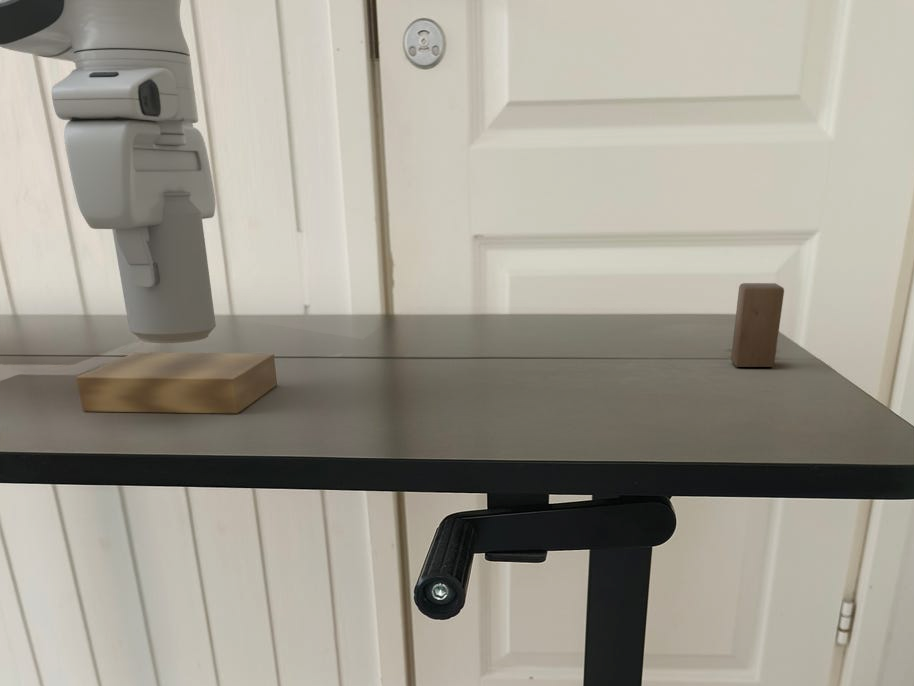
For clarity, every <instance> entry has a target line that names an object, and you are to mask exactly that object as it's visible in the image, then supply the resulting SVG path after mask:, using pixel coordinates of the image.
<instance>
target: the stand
mask: <svg viewBox="0 0 914 686" xmlns="http://www.w3.org/2000/svg"><path fill="white" fill-rule="evenodd" d="M76 384H77V388H78V389H77V390H78V393H79V398H80V404H81V408H82V411H83V412H84V413H85V412H93V413H94V412H95V413H154V414H155V413H156V414H157V413H159V414H161V413H163V414H164V413H165V414H223V415H225V414H228V415H230V414H231V415H234V414H235V415H237V414H239V413H241V412H242V411H243V410H245V409H246V408H247V407H249V406H250V405H252V404H253V403H254V402H256V401H257V400H259V399H260V398H261V397H263V396H264V395H265V394H267V393H268V392H269V391H271V390H273V389H274V388H275V387H276V386H278V380H277V370H276V360H275V354H274V353H234V352H233V353H229V352H228V353H227V352H225V353H224V352H223V353H220V352H219V353H218V352H215V353H214V352H212V353H211V352H210V353H209V352H133V353H130V354H128V355H126V356H123V357H121V358H119V359H116V360H114V361H111V362H109V363H107V364H105V365H102V366H99V367H98V368H95V369H93V370H90V371H88V372H85V373H83V374H80V375H78V376H76Z"/></svg>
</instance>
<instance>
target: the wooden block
mask: <svg viewBox="0 0 914 686" xmlns="http://www.w3.org/2000/svg"><path fill="white" fill-rule="evenodd" d="M784 295H785V288H784V287H783V286H781V285H779V283H778V284H777V283H776V282H766V283H765V282H743V283H740V285H739V286H738V293H737V301H736V309H735V319H734V328H733V336H732V337H733V338H732V339H733V340H732V346H731V355H730V360H731V362H732V363H733V365H734V366H735V367H736V368H738V367H772V368H773V367H774V366H775V364H776V363H775V362H776V355H777V346H778V342H779V341H778V339H779V334H780V333H779V332H780V326H781V318H782V312H783V311H782V309H783V305H784V304H783V303H784Z"/></svg>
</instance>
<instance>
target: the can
mask: <svg viewBox="0 0 914 686" xmlns="http://www.w3.org/2000/svg"><path fill="white" fill-rule="evenodd" d="M163 195H164V197H165V200H166V202H165V206H164V211H163V222H162V223H161V224H159V225H152V226H147V227H148V234H149V241H147V245H148V248H149V251H150V254H151V257H152V261H153V263H157V266H158V275H159V279H160V282H159V284H157V285H155V286H152V287H136V286H135V285H134V284H133V282H132V277H131V272H130V266H129V264H128V262H127V260H126V258H125V256H124V254H123V252H122V250H121V248H120V246H119V244H118V241H117V236H116V230H115V229H111V230H112V235H113V241H114V248H115V254H116V260H117V264H118V270H119V271H118V272H119V277H120V282H121V288H122V293H123V294H122V295H123V300H124V306H125V313H126V317H127V322H128V329H129V332H131V333H132V334H133V335H134V336H136V337H137V338H139V340H140V341H141V342H144V343H151V344H181V343H191V342H196V341H202V340H205V339H207V338H208V337H209V335H210V334H211V333H212V331H214V329H215V328H216V327H217V323H216V316H215V309H214V302H213V301H214V300H213V294H212V293H213V292H212V285H211V278H210V271H209V263H208V262H209V261H208V253H207V248H206V247H207V246H206V239H205V231H204V224H203V219H202V215H201V211H200V210H199V209H198V208H197V207H196V206H195V205H194V204H193V203H192V202H191V201H190V196H191V193H190V192H181V193H164V194H163Z"/></svg>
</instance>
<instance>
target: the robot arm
mask: <svg viewBox="0 0 914 686" xmlns="http://www.w3.org/2000/svg"><path fill="white" fill-rule="evenodd" d="M181 3H182V0H0V48H3V49H5V50H9V51H13V52H18V53H24V54H29V55H34V56H38V57H41V58H47V59H53V60H60V61H66V62H72V63H74V66H75V68H74V69H72V71H71V72H70V73H69V74H68V75H66V77H64V78H63V79H61V80H60V81H57V83H54V85H53V86H52V87H51V91H50V92H51V100H52V105H53V106H52V107H53V110H54V113H55V116H57V118H58V119H60V120H62V121H68V122H67V123H66V124H65V126H64V132H63V133H64V135H63V137H64V146H65V147H64V148H65V152H66V158H67V163H68V168H69V172H70V177H71V181H72V186H73V191H74V195H75V199H76V202H77V206H78V209H79V212H80V214H81V215H82V217H83V218H84V220H85V223H86V224H87V225H88V227H89V228H91V229H94V230H112V229H115V230H116V236H117V241H118V244H119V246H120V248H121V250H122V252H123V254H124V256H125V258H126V260H127V262H128V264H129V266H130V272H131V277H132V282H133V284H134V285H135V286H136V287H152V286H155V285H157V284H159V282H160V279H159V275H158V266H157V263H153V261H152V257H151V254H150V251H149V248H148V245H147V241H149V234H148V227H147V226H152V225H159V224H161V223H162V222H163V211H164V206H165V202H166V200H165V197H164V195H163V194H164V193H181V192H190V193H191V196H190V201H191V202H192V203H193V204H194V205H195V206H196V207H197V208H198V209H199V210H200V211H201V215H202V220H205V219H212V218H214V216H215V212H216V202H217V201H216V195H215V189H214V183H213V176H212V170H211V166H210V160H209V159H210V158H209V154H208V150H207V146H206V142H205V139H204V136H203V134H202V132H201V131H200V130H199V129H198V128H196V127H194V124H196V123H198V122H199V114H198V105H197V99H196V91H195V84H194V75H193V70H192V68H193V67H192V59H191V53H190V49H189V45H188V42H187V41H186V38H185V36H184V35H185V34H184V31H183V28H182V22H181V21H182V20H181Z"/></svg>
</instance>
